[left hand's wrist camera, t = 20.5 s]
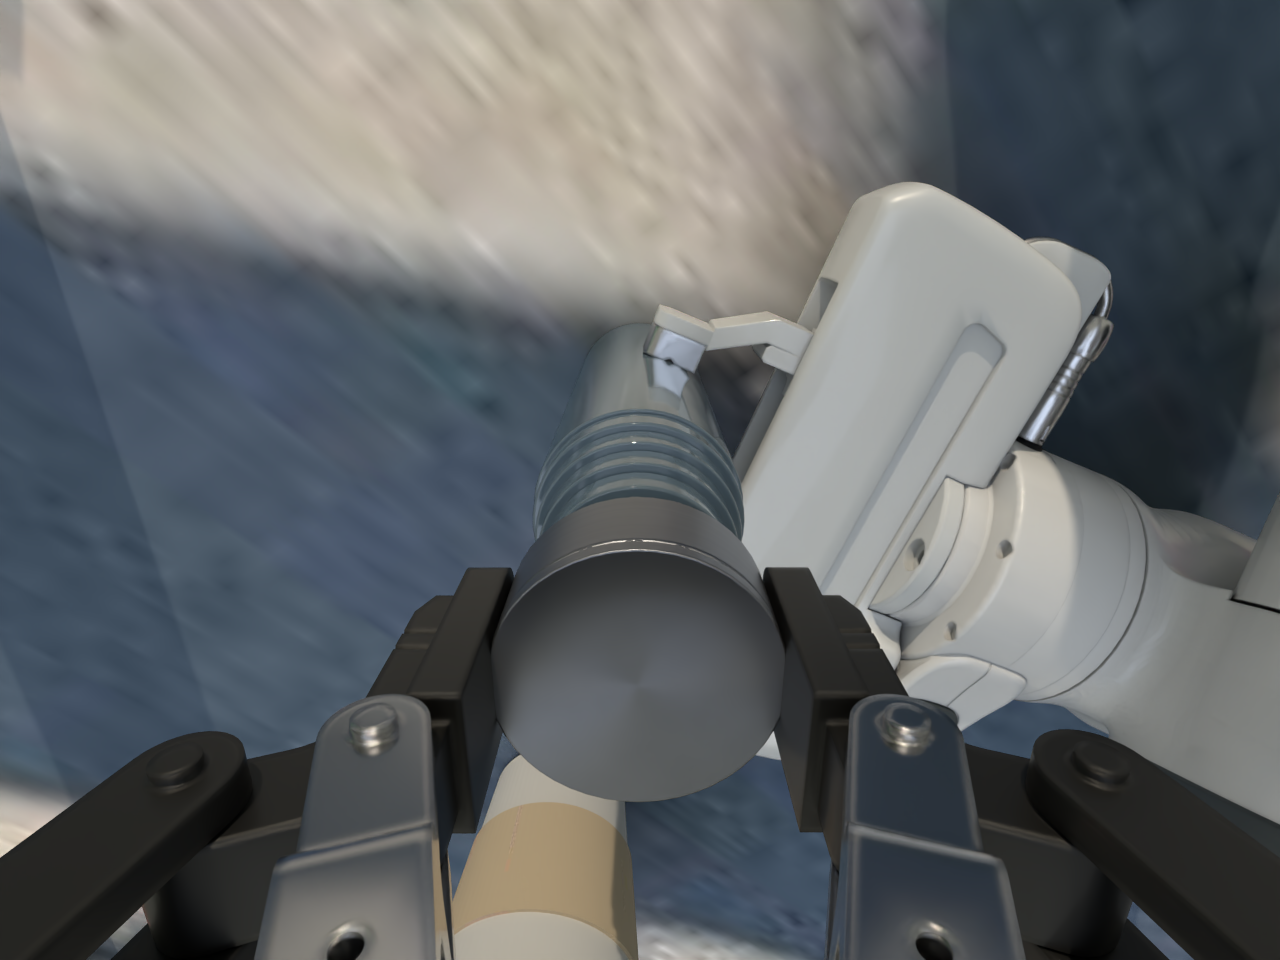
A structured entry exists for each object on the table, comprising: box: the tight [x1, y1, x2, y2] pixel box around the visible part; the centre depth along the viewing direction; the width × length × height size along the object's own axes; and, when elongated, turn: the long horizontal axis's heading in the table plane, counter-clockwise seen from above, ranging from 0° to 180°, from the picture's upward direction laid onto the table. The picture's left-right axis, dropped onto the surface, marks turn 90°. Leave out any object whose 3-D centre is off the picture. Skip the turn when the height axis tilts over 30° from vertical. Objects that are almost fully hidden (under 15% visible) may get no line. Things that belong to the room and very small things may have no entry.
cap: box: [490, 497, 786, 802], centre depth 11 cm, size 4×4×2 cm
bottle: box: [533, 323, 745, 542], centre depth 20 cm, size 5×5×20 cm
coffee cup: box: [452, 755, 638, 960], centre depth 31 cm, size 9×9×15 cm
